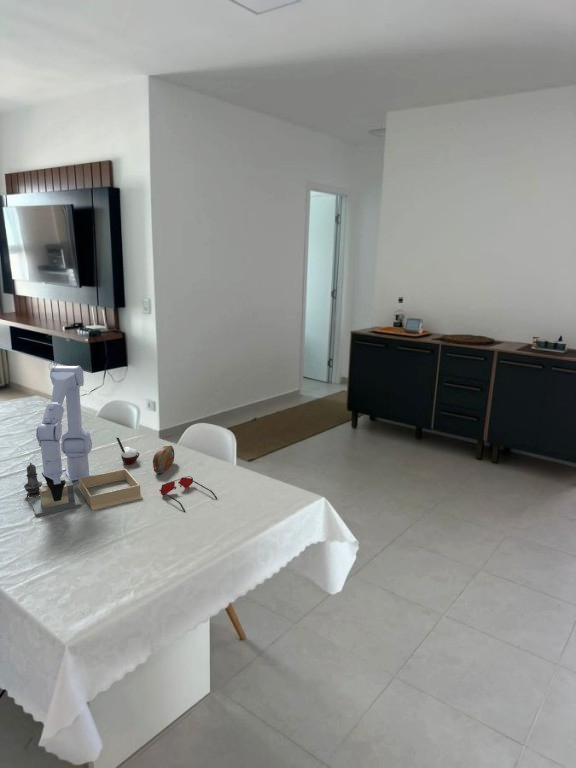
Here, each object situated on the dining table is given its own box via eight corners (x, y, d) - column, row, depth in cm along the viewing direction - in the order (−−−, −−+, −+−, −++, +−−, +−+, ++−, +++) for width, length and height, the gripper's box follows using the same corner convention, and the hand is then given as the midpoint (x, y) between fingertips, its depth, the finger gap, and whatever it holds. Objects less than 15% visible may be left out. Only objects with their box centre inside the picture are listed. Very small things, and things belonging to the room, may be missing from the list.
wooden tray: (77, 486, 193) (76, 475, 192) (124, 476, 203) (123, 466, 202) (92, 510, 176) (91, 499, 175) (143, 498, 185) (142, 487, 184)
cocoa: (138, 459, 220) (138, 431, 218) (141, 464, 214) (141, 436, 212) (114, 462, 215) (114, 434, 213) (117, 467, 210) (116, 438, 208)
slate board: (31, 504, 179) (31, 501, 179) (74, 494, 186) (74, 492, 186) (36, 516, 171) (35, 514, 171) (81, 506, 178) (81, 503, 178)
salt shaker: (47, 492, 188) (43, 460, 185) (34, 499, 183) (30, 466, 180) (33, 489, 190) (30, 458, 187) (21, 496, 185) (17, 464, 182)
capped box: (40, 503, 178) (39, 487, 176) (72, 496, 183) (70, 480, 182) (43, 508, 174) (41, 491, 173) (74, 501, 180) (73, 484, 178)
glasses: (192, 485, 196) (191, 473, 195) (218, 500, 185) (218, 487, 184) (158, 497, 187) (158, 484, 186) (184, 513, 175) (184, 500, 174)
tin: (159, 477, 203) (158, 456, 201) (152, 476, 203) (150, 455, 201) (175, 462, 217) (174, 442, 215) (168, 461, 217) (167, 442, 215)
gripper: (69, 463, 171) (72, 501, 174) (60, 449, 183) (63, 485, 186) (45, 467, 167) (49, 506, 170) (38, 453, 179) (41, 490, 182)
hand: (55, 496), depth 178 cm, fingers open, 7 cm apart
